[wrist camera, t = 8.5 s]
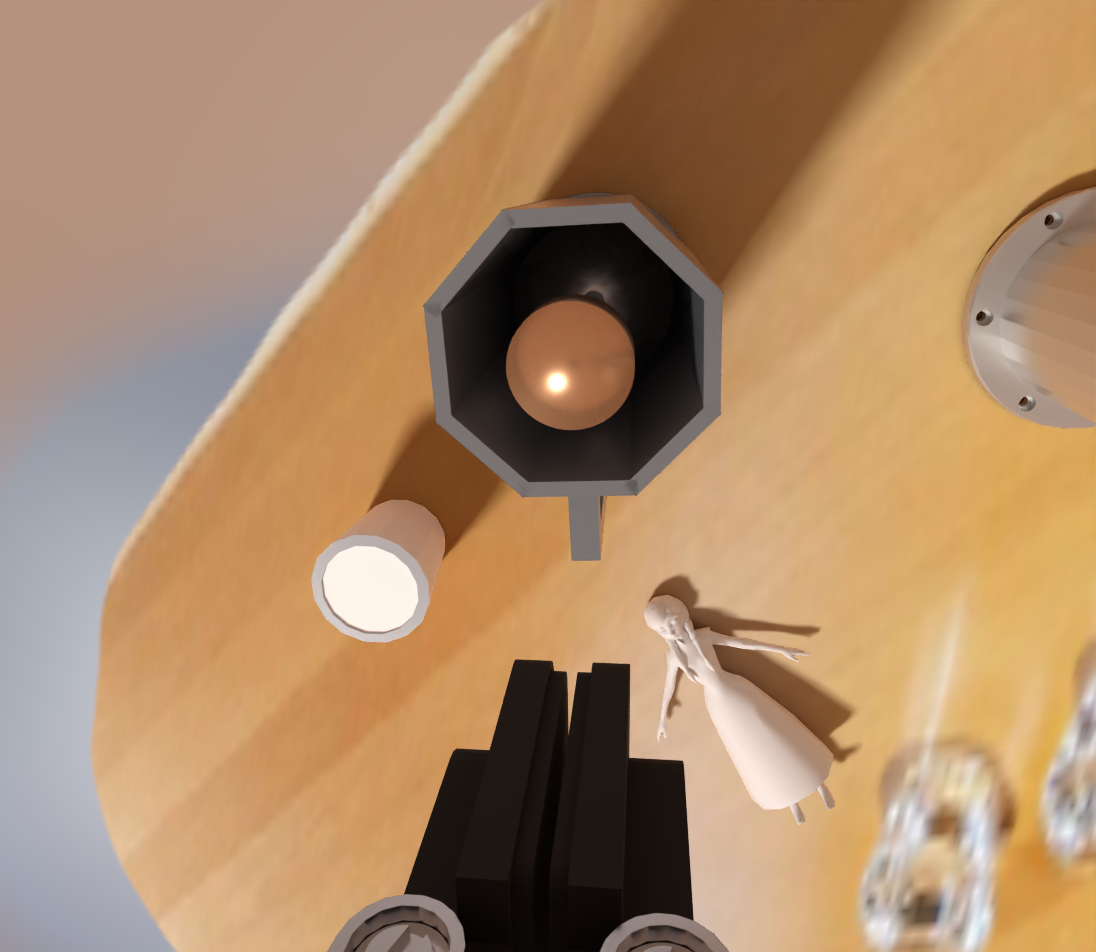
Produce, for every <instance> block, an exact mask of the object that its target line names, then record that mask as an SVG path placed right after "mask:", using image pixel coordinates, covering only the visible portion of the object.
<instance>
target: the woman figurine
mask: <svg viewBox="0 0 1096 952" xmlns="http://www.w3.org/2000/svg"><path fill="white" fill-rule="evenodd" d="M644 616H645V620H646V622H647V624H648V626H649V627H651V628H652V629H653V630H657V632H658V633H659V634H660V635H661V636H662V637H664V638H665V640H666V642H667V643H668V644H669V649H668V651H667V652H666V654H665V657H666V658H667V676H666V682H665V688H664V695H663V703H662V708H661V714H660V719H659V726H658V732H657V739H658V742H659V738H660V734H661V735H663V734H662V732H664V738H666V725H665V718H666V713H667V709H668V705H669V700H670V699H671V697H672V695H673V692H674V689H675V683H676V674H677V670H678V667H680V668H681V669H682V670H683V671H684V672H686V674H687V677H688V678H689V679H691V680H692V681H693V682H695V683H696V680H697V681H698V682H700V683H701V684H703V686H704V695H705V702H706V707H707V709H708V711H709V714H710V716H711V719H712V721H713V723H714V725H715V727H716V729H717V731H718V733H719V735H720V737H721V739H722V741H723V743H724V745H725V747H726V749H727V751H728V753H729V755H730V757H731V759H732V761H733V763H734V765H735V767H736V769H737V771H738V773H739V775H740V777H741V778H742V780H743V782H744V784H745V786H746V788H747V790H748V792H749V794H750V796H751V798H752V799H753V800H754V801H755V802H756V803H757V804H759V805H760V806H761V807H762V808H763V809H782V808H785V807H787V806H790V808H791V811H792V813H793V815H794V817H795V819H796V821H797V823H798V825H799V824H801V823H803V822H805V816H804V814H803V812H802V810H801V809H800V807H799V805H798V803H797V802H799V801H801V800H802V799H804V798H805V797H807V796H809V795H810V794H812V793H813V792H815V791H816V790H818V791H819V792H820V794H821V796H822V798H823V800H824V803H825V805H826V807H827V809H828V810H829V809H831V808H833V807H835V801H834V799H833V797H832V795H831V793H830V791H829V789H828V788H827V786H826V785H825V784H824V783H823V782H824V780H825V779H826V778H827V777H828V775H829V772H830V768H831V764H832V760H833V757H834V755H833V754H832V753H831V752H830V750H829V749H828V748H827V747H826V746H825V744H824V743H823V742H822V741H820V740H819V739H818V738H817V737H816V736H815V735H814V734H813V733H812V732H811V731H810V730H809V729H808V728H807V727H806V726H805V725H804V724H803V723H802V722H800V721H799V720H798V719H797V718H796V717H795V716H794V715H793V714H792V713H790V712H789V711H788V710H787V709H785V708H784V707H783V706H781V705H780V704H779V703H778V702H776V701H775V700H774V699H772V698H771V697H770V696H769V695H767V694H766V693H765V692H763V691H762V690H761V689H760V688H758V687H757V686H756V685H754V684H753V683H752V682H750V681H749V680H747V679H745V678H743V677H742V676H740V675H736V674H732V673H728V672H726V671H724V670H722V668H721V666H720V664H719V661H718V659H717V656H716V653H715V650H714V647H713V645H714V644H715V645H727V646H732V647H737V648H742V649H751V650H757V649H761V650H767V651H774V652H781V653H783V654H784V655H785V656H786V657H788V658H789V659H792V660H794V661H796V662H799V660H798V659H796V658H794V655H803V656H807V657H808V656H809V653H808V652H805V651H803V650H800V649H797V648H789V647H784V646H779V645H774V644H769V643H764V642H759V641H756V640H752V639H747V638H738V637H733V636H728V635H724V634H720V633H717V632H713V631H710V627H705V628H700V629H693V624H692V621H691V620H690V618H689V612H688V609H687V607H686V606H685V604H684V603H683V602H682V601H680V600H679V599H677V598H674V597H672V596H670V595H663V596H658V597H654V598H652V600H651V601H650V602H649V603H648V605H647V606H646V608H645V609H644ZM807 654H808V655H807Z"/></svg>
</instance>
